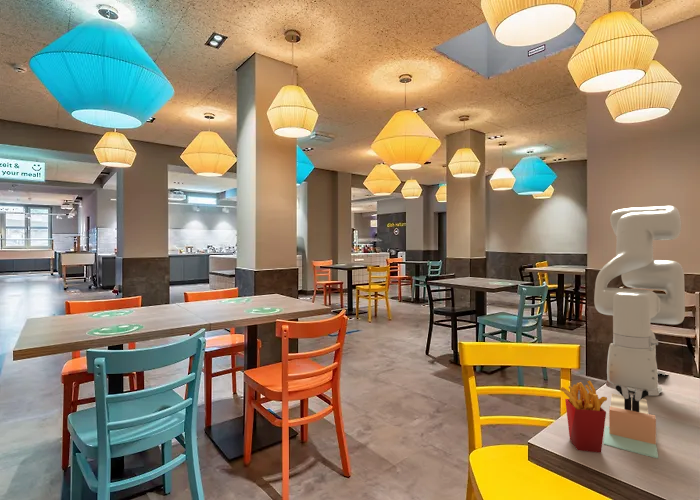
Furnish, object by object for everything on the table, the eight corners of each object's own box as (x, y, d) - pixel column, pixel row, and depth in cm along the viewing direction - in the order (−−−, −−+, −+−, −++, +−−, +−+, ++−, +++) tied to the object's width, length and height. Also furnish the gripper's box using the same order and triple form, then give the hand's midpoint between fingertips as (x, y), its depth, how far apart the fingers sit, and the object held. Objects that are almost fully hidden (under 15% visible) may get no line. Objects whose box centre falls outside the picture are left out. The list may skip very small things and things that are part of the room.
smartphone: (636, 368, 135) (636, 366, 135) (646, 372, 144) (646, 369, 145) (661, 373, 129) (662, 371, 130) (670, 376, 139) (670, 374, 139)
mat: (605, 426, 97) (605, 425, 97) (654, 438, 92) (654, 437, 92) (603, 444, 89) (603, 443, 89) (658, 458, 83) (658, 457, 83)
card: (609, 406, 95) (609, 409, 93) (655, 415, 90) (655, 419, 88) (609, 429, 95) (609, 433, 93) (655, 440, 90) (655, 444, 88)
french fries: (607, 456, 84) (607, 389, 84) (567, 452, 86) (567, 386, 86) (590, 436, 93) (590, 376, 93) (554, 433, 94) (554, 374, 94)
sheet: (611, 406, 110) (611, 393, 110) (646, 413, 105) (646, 399, 105) (610, 428, 97) (610, 412, 97) (649, 437, 92) (649, 420, 92)
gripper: (668, 342, 92) (669, 416, 92) (596, 334, 101) (597, 402, 101) (672, 349, 86) (672, 428, 86) (595, 340, 95) (595, 411, 95)
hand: (631, 413), depth 94 cm, fingers closed
